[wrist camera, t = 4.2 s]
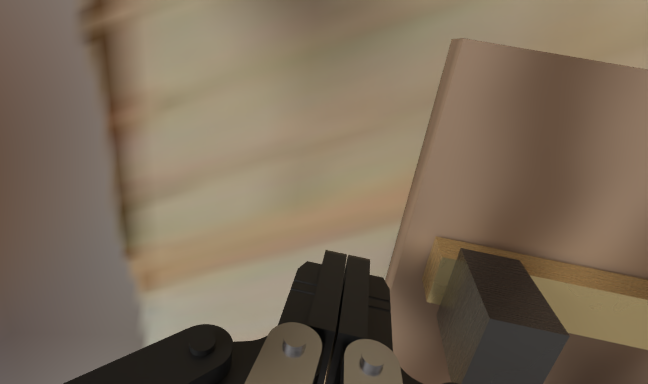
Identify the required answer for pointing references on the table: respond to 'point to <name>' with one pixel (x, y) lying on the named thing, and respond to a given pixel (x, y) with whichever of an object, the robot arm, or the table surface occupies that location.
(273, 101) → the table surface
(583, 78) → the sliding latch board
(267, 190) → the table surface
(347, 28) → the table surface
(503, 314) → the barrel bolt
